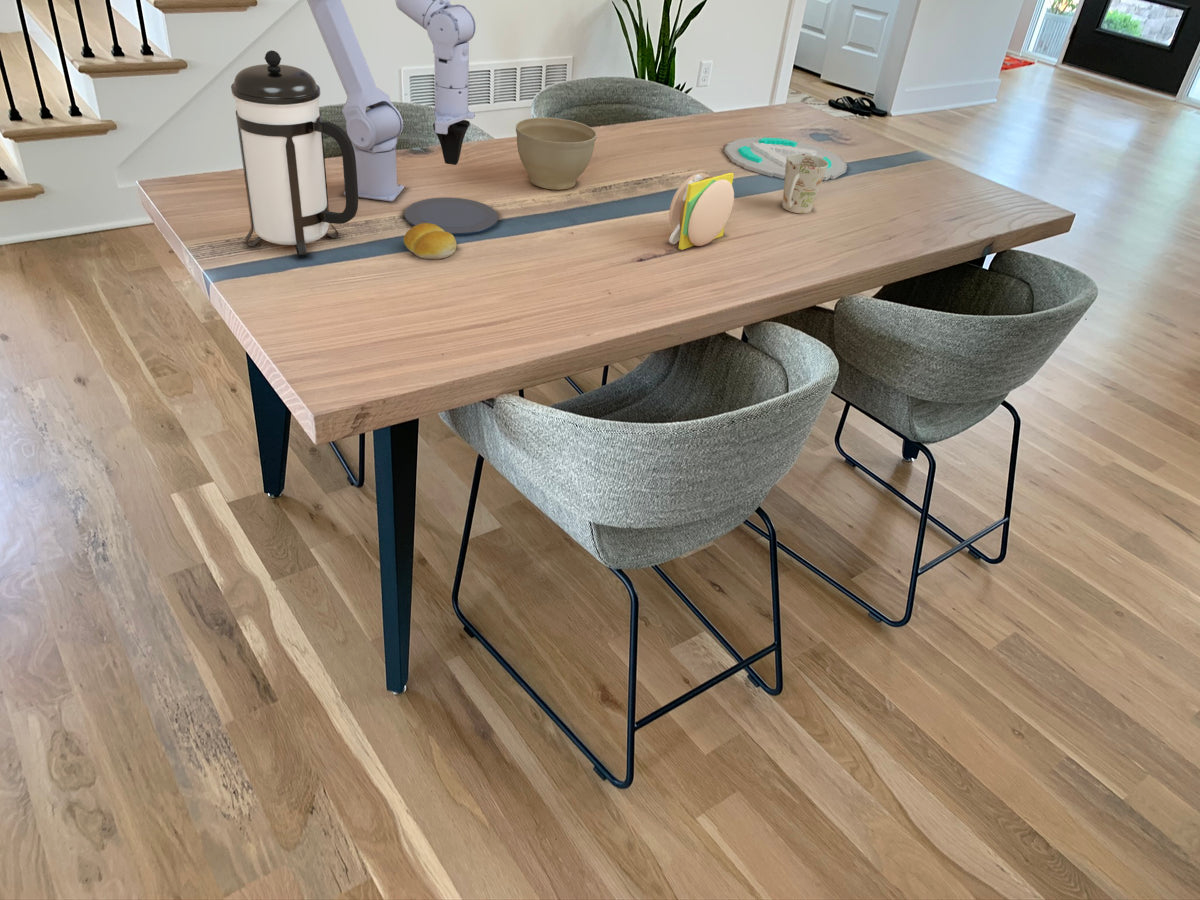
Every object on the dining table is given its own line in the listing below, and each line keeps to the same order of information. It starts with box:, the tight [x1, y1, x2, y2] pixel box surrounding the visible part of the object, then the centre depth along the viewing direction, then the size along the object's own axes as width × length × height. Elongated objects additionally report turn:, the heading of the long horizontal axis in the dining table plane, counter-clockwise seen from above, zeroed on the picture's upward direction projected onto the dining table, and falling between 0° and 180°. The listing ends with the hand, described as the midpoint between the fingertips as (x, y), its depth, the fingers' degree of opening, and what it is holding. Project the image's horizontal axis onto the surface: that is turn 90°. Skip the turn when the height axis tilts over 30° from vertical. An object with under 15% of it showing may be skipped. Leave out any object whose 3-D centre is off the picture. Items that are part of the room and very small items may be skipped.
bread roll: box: [403, 223, 457, 260], centre depth 152 cm, size 8×9×4 cm
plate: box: [404, 197, 499, 237], centre depth 165 cm, size 17×17×1 cm
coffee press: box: [230, 50, 359, 259], centre depth 142 cm, size 17×16×30 cm
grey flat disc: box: [723, 136, 848, 182], centre depth 212 cm, size 28×28×2 cm
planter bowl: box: [515, 117, 598, 191], centre depth 182 cm, size 16×16×11 cm
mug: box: [781, 154, 828, 214], centre depth 182 cm, size 8×13×10 cm, turn 155°
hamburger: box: [668, 172, 735, 251], centre depth 165 cm, size 12×8×12 cm
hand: (451, 163), depth 162 cm, fingers closed
